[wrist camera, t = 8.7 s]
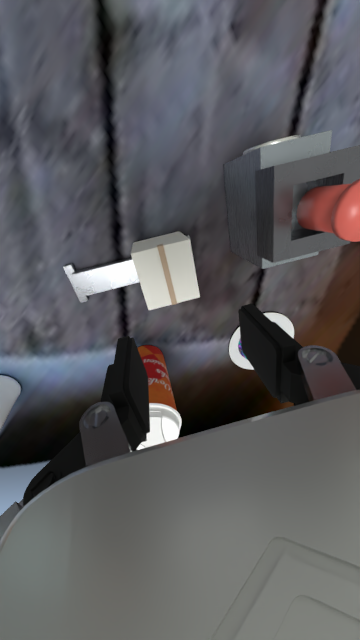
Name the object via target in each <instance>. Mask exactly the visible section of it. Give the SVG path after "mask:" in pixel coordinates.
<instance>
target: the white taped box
mask: <svg viewBox="0 0 360 640" xmlns="http://www.w3.org/2000/svg"><path fill="white" fill-rule="evenodd" d="M131 257H132V260H133V263H134V266H135V269H136V272H137V275H138V278H139V282H140V285H141V288H142V291H143V294H144V297H145V300H146V303H147V307H148V310H152V309H156V308H160V307H164V306H168V305H175V304H177V303H179V302H183V301H187V300H191V299H195V298H199V297H200V294H199V289H198V283H197V277H196V272H195V266H194V260H193V255H192V249H191V244H190V239H189V238H188V237H186V236H185V235H184V234H182V233H181V232H180V231H178V232H174V233H170V234H166V235H162V236H158V237H154V238H150V239H146V240H142V241H137V242H133V246H132V250H131Z"/></svg>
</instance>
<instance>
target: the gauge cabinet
mask: <svg viewBox="0 0 360 640" xmlns="http://www.w3.org/2000/svg"><path fill="white" fill-rule="evenodd" d="M331 136H332V130H330V131H326V132H322V133H318V134H314V135H309V136H305V137H301V135H294V136H289V137H285V138H281V139H277V140H273V141H270V142H266V143H263V144H260V145H257V146H254V147H252V148H249V149H247V150H245V151H243V156H241V157H238V158H236V159H234V160H232V161H230V162H228V163H226V164H223V169H224V180H225V192H226V203H227V214H228V226H229V237H230V249H231V252H232V253H234V254H236V255H238V256H240V257H241V258H243V259H245V260H247V261H249V262H251V263H252V264H254V265H256V266H258V267H260V268H261V269H264V268H268V267H272V266H276V265H280V264H284V263H287V262H291V261H295V260H299V259H303V258H307V257H311V256H315V255H318V251H322V250H326V249H330V248H334V247H337V246H341V245H345V244H349V243H350V241H347V240H342V239H340V238H338V237H337V236H336V235H335V234H334V233H329V232H323V231H317V230H310V229H305V228H303V227H301V226H300V225H299V223H298V221H297V216H296V213H297V207H298V204H299V202H300V200H301V199H302V197H303V196H304V195H305V194H306V193H307V192H308V191H309V190H311V189H313V188H315V187H321V186H332V185H343V184H352V183H353V182H354V181H356V180H358V179H360V145H358V146H354V147H350V148H346V149H342V150H338V151H333V152H330V144H331ZM300 137H301V138H300Z"/></svg>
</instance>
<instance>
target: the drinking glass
mask: <svg viewBox="0 0 360 640" xmlns="http://www.w3.org/2000/svg"><path fill="white" fill-rule="evenodd" d="M20 392H21V387H20V385H19V383H18V382H17V381H16V380H14V379H13V378H11V377H8V376H4V375H0V430H1V428H2V426H3V424H4V422H5V420H6V418H7V416H8V414H9V412H10V411H11V409H12V407H13V405H14V403H15V401H16V400H17V398H18V397H19V395H20Z"/></svg>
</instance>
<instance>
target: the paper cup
mask: <svg viewBox="0 0 360 640" xmlns="http://www.w3.org/2000/svg"><path fill="white" fill-rule="evenodd" d="M138 351H139V354H140V356H141V359H142V361H143V364H144V366H145V369H146V372H147V375H148V386H149V415H150V432H149V433H147V441H145V442H141V444H140V445H139V446H138V448H137V450H140V449H143V448H147V447H150V446H154V445H157V444H161V443H164V442H168V441H171V440H175V439H177V438H178V435H179V430H180V427H181V417H180V415H179V413H178V412H177V410H176V406H175V402H174V398H173V393H172V389H171V385H170V380H169V376H168V372H167V368H166V364H165V360H164V356H163V354H162V352H161V350H160V349H159V348H157V347H155V346H152V345H143V346H140V347H138Z"/></svg>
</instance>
